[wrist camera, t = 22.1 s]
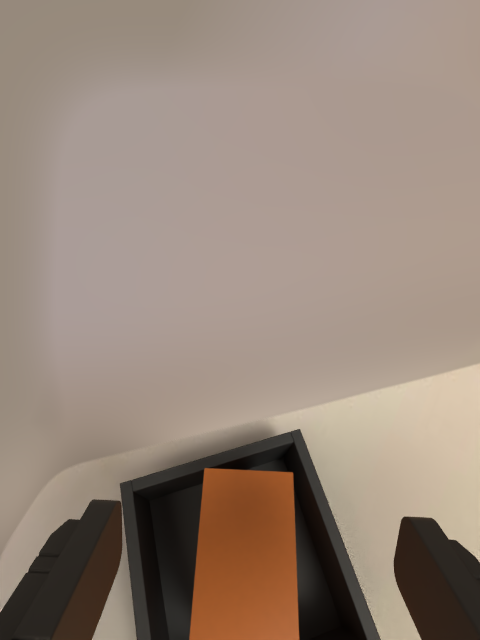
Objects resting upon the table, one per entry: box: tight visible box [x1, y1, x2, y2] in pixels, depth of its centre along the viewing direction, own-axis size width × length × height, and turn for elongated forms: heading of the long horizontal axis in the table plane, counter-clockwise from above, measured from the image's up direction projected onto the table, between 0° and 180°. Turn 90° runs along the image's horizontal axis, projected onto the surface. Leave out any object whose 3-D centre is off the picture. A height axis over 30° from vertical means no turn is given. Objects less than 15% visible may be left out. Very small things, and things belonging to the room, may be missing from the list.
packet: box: [189, 468, 299, 640], centre depth 22 cm, size 5×9×12 cm, turn 178°
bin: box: [120, 429, 381, 640], centre depth 25 cm, size 14×14×7 cm
